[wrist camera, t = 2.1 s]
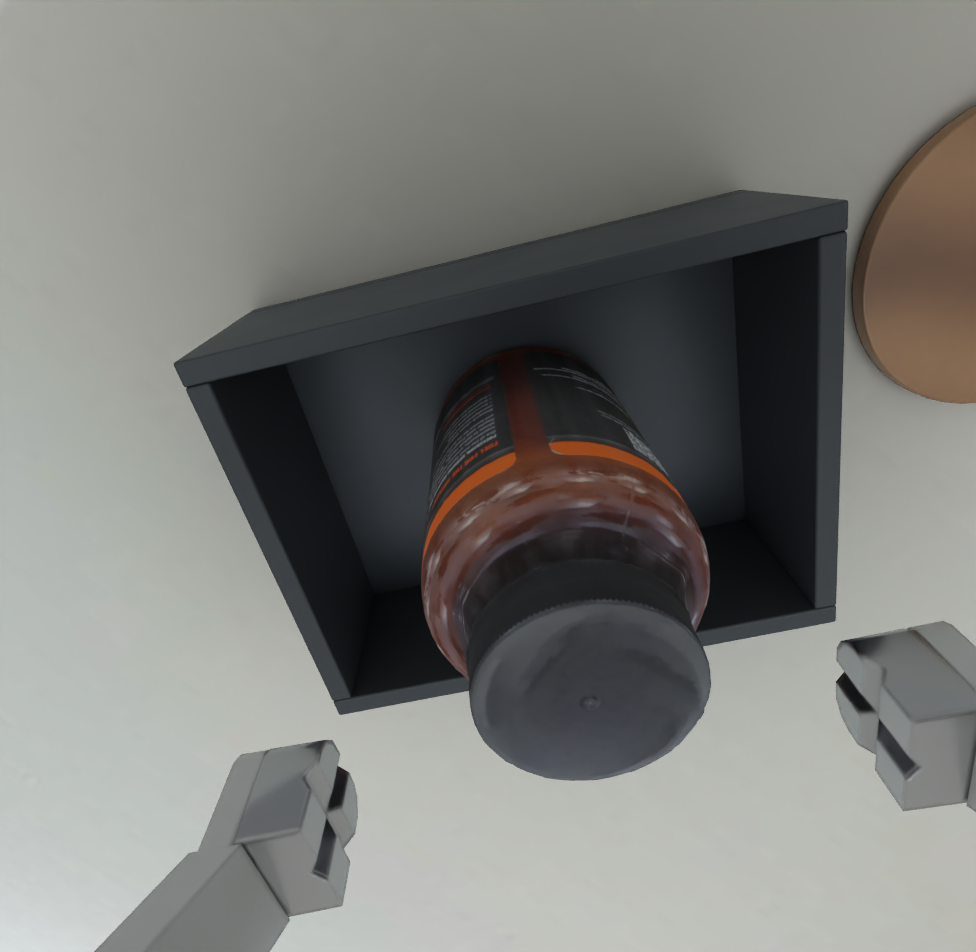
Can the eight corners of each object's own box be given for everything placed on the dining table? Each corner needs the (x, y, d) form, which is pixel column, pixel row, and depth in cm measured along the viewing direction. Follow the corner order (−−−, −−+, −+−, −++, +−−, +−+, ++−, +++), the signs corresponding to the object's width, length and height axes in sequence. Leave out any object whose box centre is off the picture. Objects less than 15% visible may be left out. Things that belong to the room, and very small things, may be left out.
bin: (251, 310, 19) (171, 363, 14) (742, 189, 18) (849, 199, 13) (366, 599, 24) (339, 716, 19) (755, 520, 23) (836, 622, 18)
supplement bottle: (421, 495, 21) (377, 803, 11) (453, 322, 18) (433, 516, 8) (591, 524, 22) (696, 838, 12) (644, 361, 19) (839, 583, 9)
